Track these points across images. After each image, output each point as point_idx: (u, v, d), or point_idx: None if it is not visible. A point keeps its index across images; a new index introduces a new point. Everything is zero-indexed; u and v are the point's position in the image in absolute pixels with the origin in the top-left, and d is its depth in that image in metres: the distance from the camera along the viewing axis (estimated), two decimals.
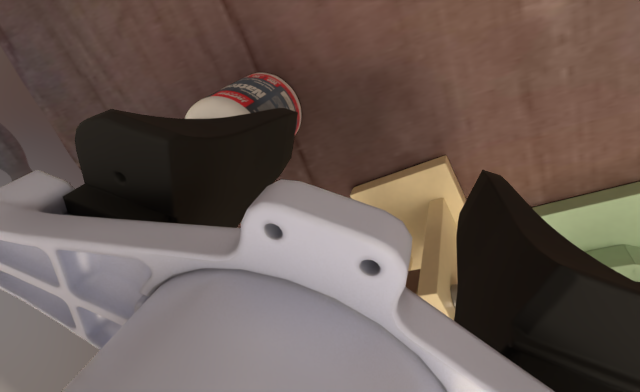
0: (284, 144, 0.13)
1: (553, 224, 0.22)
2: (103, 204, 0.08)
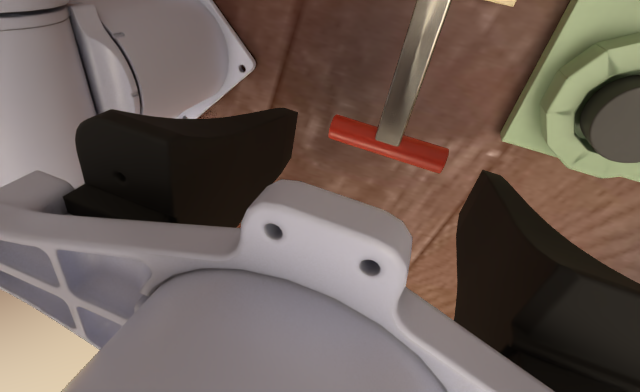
0: (284, 144, 0.13)
1: None
2: (103, 204, 0.08)
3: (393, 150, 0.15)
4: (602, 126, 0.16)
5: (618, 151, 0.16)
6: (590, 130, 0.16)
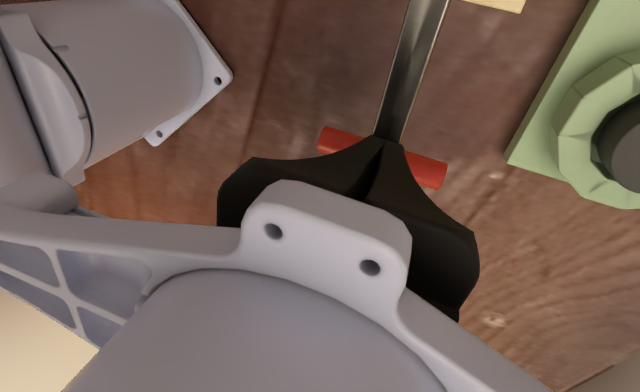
0: (373, 173, 0.13)
1: None
2: None
3: None
4: (625, 154, 0.14)
5: None
6: (610, 158, 0.14)
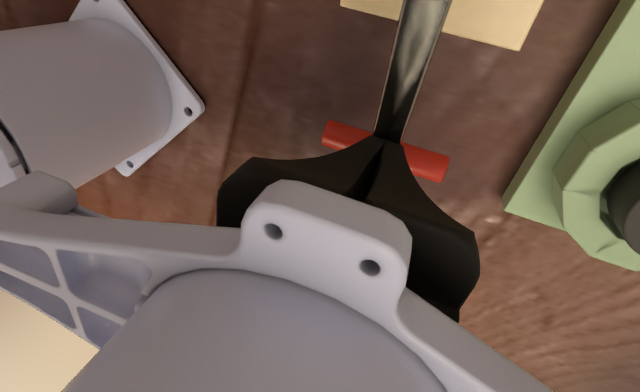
0: (373, 173, 0.13)
1: None
2: None
3: None
4: None
5: None
6: (624, 223, 0.12)
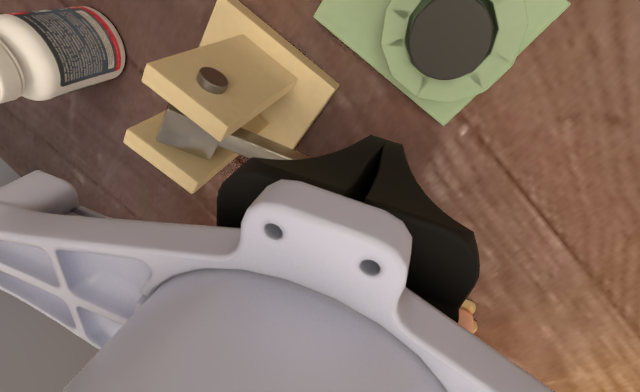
0: (373, 173, 0.13)
1: None
2: None
3: None
4: (434, 69, 0.17)
5: (468, 59, 0.16)
6: (435, 78, 0.17)
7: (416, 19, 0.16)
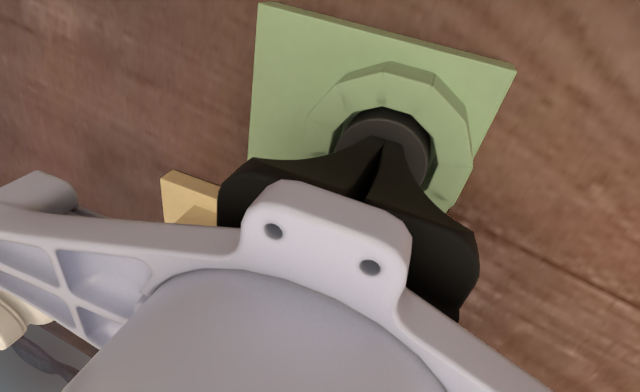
0: (373, 174, 0.13)
1: (263, 146, 0.17)
2: None
3: None
4: None
5: None
6: None
7: None
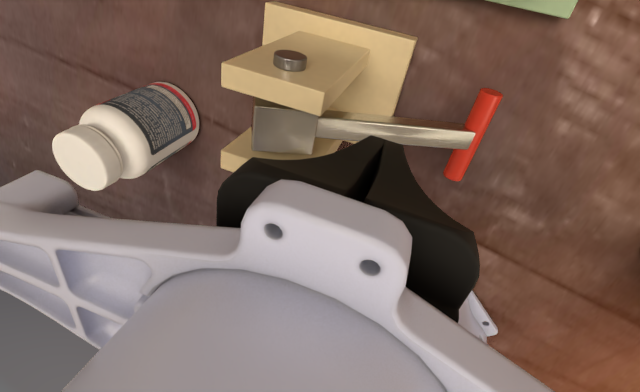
0: (373, 174, 0.13)
1: None
2: None
3: (478, 135, 0.18)
4: None
5: None
6: None
7: None
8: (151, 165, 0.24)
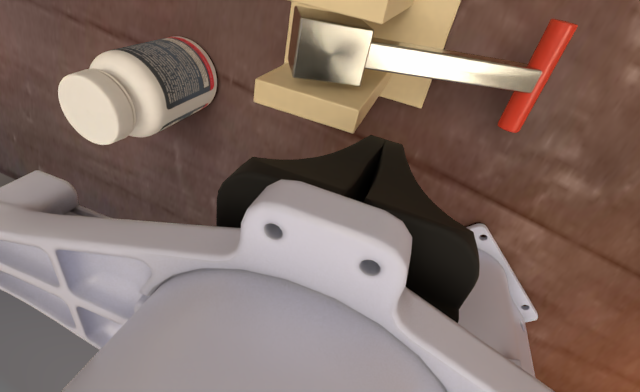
0: (373, 174, 0.13)
1: None
2: None
3: (545, 75, 0.16)
4: None
5: None
6: None
7: None
8: (166, 122, 0.22)
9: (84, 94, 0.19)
